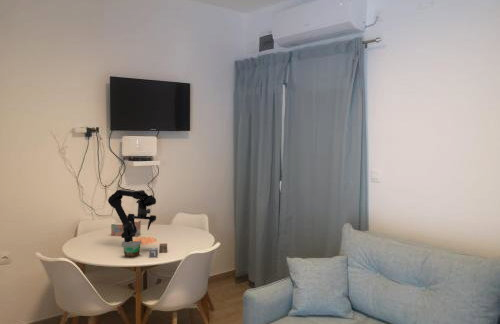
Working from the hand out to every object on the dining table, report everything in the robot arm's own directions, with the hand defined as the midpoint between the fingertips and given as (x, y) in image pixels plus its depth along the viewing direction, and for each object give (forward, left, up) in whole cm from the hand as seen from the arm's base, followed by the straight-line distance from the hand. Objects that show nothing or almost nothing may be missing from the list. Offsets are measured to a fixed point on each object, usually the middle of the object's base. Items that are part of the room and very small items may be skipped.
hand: (141, 229), depth 249 cm
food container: (+7, -5, -16) cm, 18 cm away
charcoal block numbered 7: (+8, +9, -16) cm, 20 cm away
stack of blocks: (-45, -15, -16) cm, 50 cm away
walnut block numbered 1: (-1, +15, -16) cm, 22 cm away
